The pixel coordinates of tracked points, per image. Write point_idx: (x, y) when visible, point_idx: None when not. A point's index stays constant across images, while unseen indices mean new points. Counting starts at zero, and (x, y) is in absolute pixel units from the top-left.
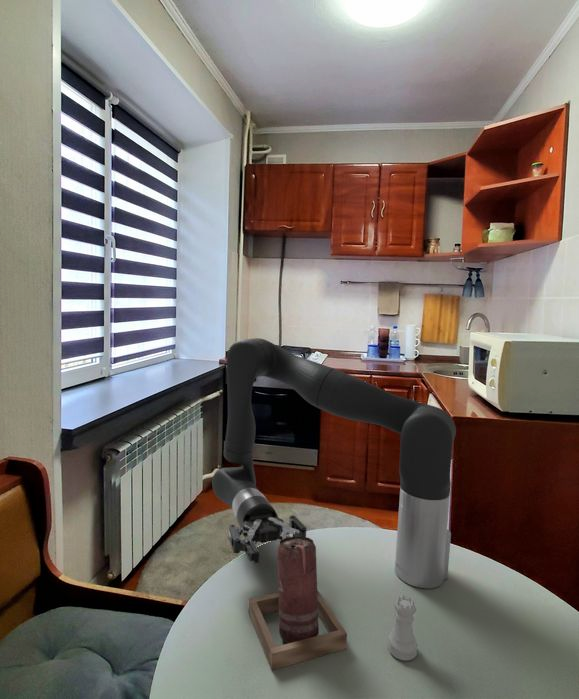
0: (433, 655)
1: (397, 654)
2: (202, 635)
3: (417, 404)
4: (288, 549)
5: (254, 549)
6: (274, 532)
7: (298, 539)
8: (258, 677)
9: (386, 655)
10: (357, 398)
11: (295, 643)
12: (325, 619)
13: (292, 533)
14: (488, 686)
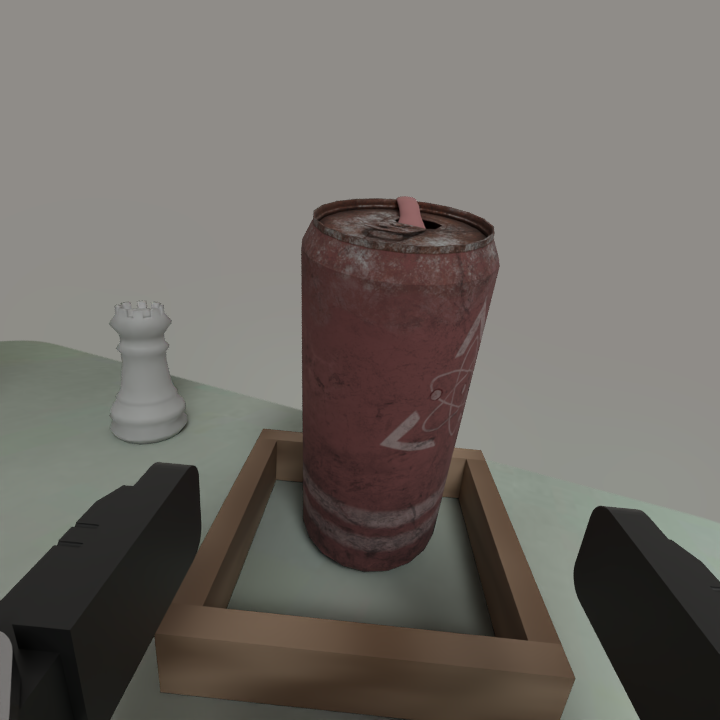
0: (109, 406)
1: (182, 413)
2: None
3: None
4: (461, 220)
5: (656, 533)
6: None
7: (375, 227)
8: (507, 487)
9: (193, 433)
10: None
11: None
12: (255, 512)
13: (17, 708)
14: (115, 366)
